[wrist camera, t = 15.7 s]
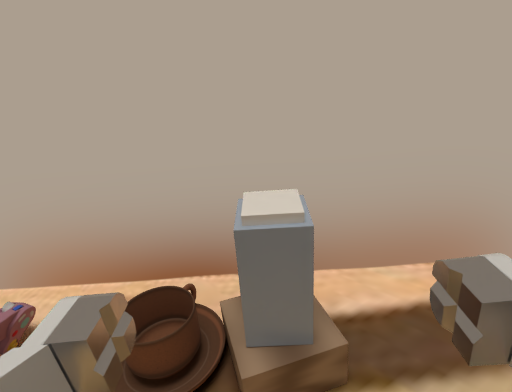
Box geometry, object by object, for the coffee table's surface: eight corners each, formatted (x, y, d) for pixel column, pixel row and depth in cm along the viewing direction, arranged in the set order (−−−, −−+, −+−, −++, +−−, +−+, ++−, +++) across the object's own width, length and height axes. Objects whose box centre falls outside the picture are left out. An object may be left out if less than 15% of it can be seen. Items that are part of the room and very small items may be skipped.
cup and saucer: (134, 317, 37) (121, 275, 35) (233, 312, 36) (226, 268, 34) (78, 423, 26) (53, 372, 24) (219, 419, 25) (207, 365, 23)
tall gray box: (304, 297, 30) (302, 186, 26) (313, 344, 25) (313, 215, 21) (248, 300, 31) (237, 190, 26) (246, 347, 26) (232, 220, 21)
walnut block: (303, 315, 35) (302, 278, 33) (347, 385, 27) (348, 343, 25) (226, 338, 33) (219, 301, 31) (248, 422, 25) (241, 379, 23)
